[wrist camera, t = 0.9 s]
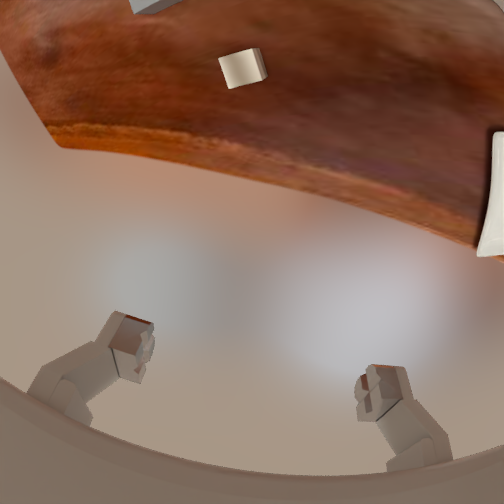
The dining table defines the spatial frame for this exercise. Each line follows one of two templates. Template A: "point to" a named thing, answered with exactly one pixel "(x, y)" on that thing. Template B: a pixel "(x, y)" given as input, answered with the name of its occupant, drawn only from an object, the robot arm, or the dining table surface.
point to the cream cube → (243, 67)
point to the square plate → (494, 204)
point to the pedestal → (150, 5)
